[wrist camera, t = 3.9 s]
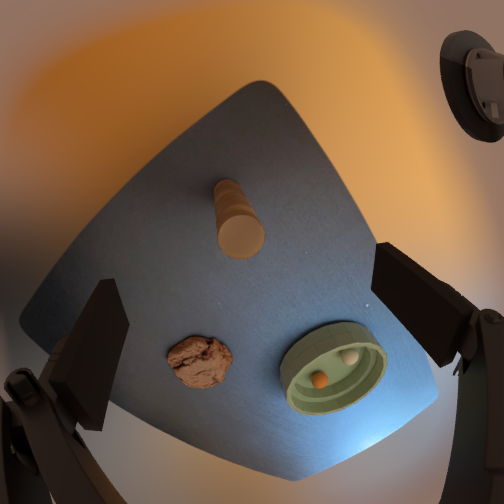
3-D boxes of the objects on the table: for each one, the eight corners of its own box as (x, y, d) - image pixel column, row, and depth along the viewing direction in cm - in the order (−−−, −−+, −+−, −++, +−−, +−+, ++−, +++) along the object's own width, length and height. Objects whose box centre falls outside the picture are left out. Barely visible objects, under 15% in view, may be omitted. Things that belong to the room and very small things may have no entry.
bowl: (379, 309, 44) (397, 331, 38) (363, 378, 51) (375, 399, 46) (277, 330, 42) (287, 357, 37) (279, 399, 49) (285, 423, 44)
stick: (239, 177, 32) (263, 212, 19) (242, 204, 34) (266, 256, 20) (212, 180, 32) (214, 217, 19) (215, 207, 33) (220, 262, 20)
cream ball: (355, 342, 45) (362, 353, 42) (352, 354, 46) (359, 366, 43) (339, 346, 45) (346, 358, 42) (337, 358, 46) (343, 370, 43)
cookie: (180, 383, 44) (179, 397, 41) (160, 338, 40) (158, 352, 37) (237, 376, 45) (239, 389, 42) (226, 329, 41) (228, 342, 38)
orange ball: (326, 366, 46) (331, 378, 44) (324, 377, 47) (329, 389, 45) (309, 370, 46) (314, 383, 43) (308, 381, 47) (313, 393, 44)
